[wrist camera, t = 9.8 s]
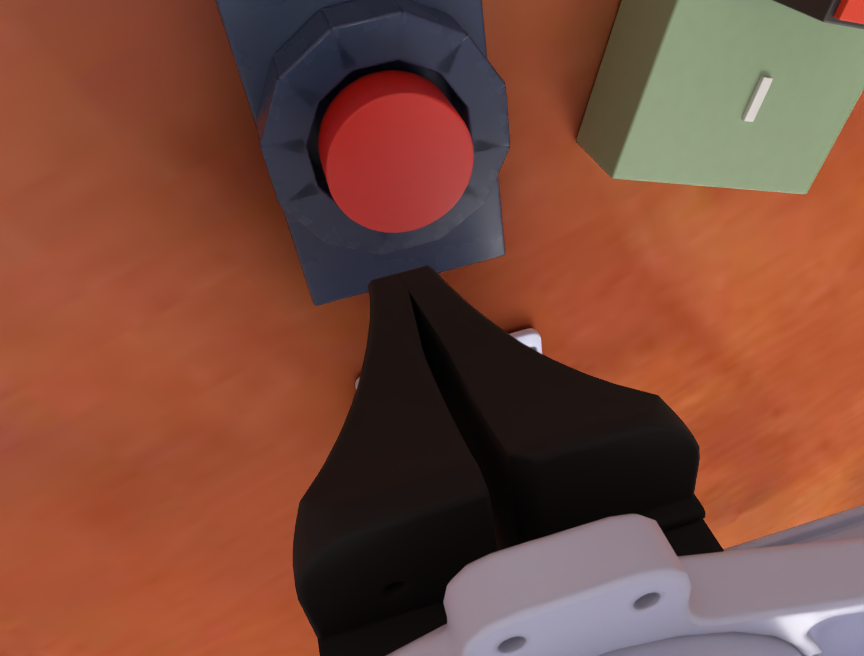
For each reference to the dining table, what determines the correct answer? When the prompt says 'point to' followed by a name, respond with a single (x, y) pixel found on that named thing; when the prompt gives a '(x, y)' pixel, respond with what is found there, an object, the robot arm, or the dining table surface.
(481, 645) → the robot arm
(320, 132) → the button
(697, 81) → the green toggle switch panel
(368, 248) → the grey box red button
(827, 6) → the grey box red tab
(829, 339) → the dining table surface
